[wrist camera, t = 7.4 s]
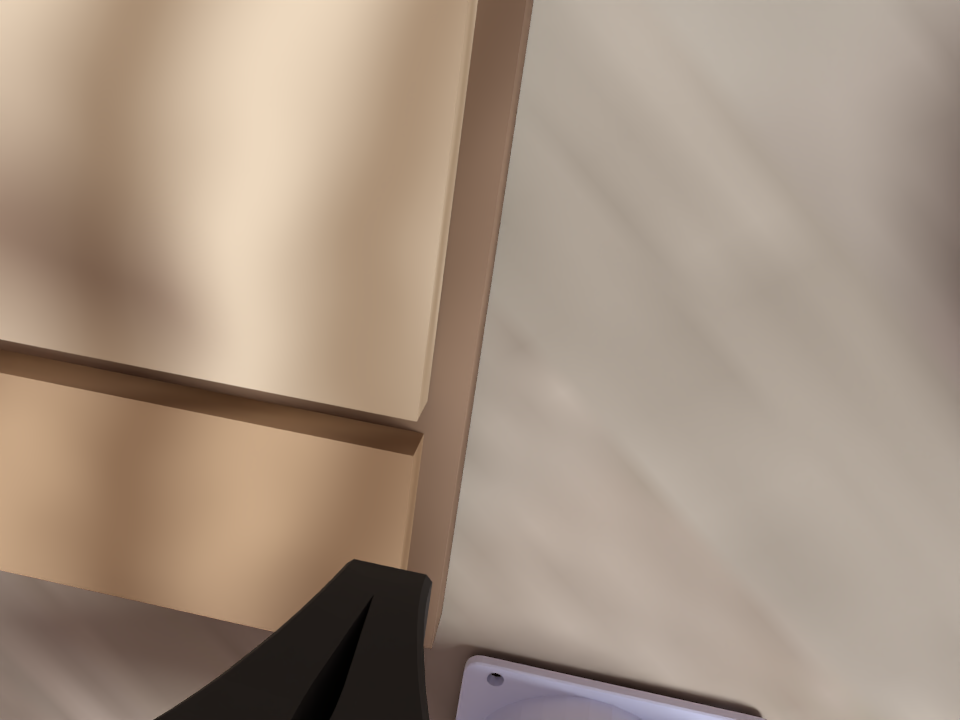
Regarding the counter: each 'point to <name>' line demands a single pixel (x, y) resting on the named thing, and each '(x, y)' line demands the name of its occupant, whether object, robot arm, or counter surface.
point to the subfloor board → (260, 437)
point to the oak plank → (234, 187)
